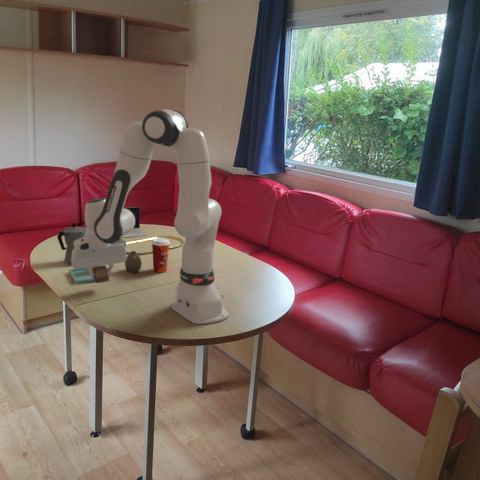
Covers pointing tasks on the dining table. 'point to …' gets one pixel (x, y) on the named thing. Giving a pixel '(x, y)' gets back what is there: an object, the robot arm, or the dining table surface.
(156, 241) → the paper cup
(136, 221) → the laptop
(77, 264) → the robot arm
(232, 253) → the dining table surface
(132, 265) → the vase
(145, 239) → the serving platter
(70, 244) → the coffeepot
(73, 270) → the tray
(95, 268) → the walnut block
